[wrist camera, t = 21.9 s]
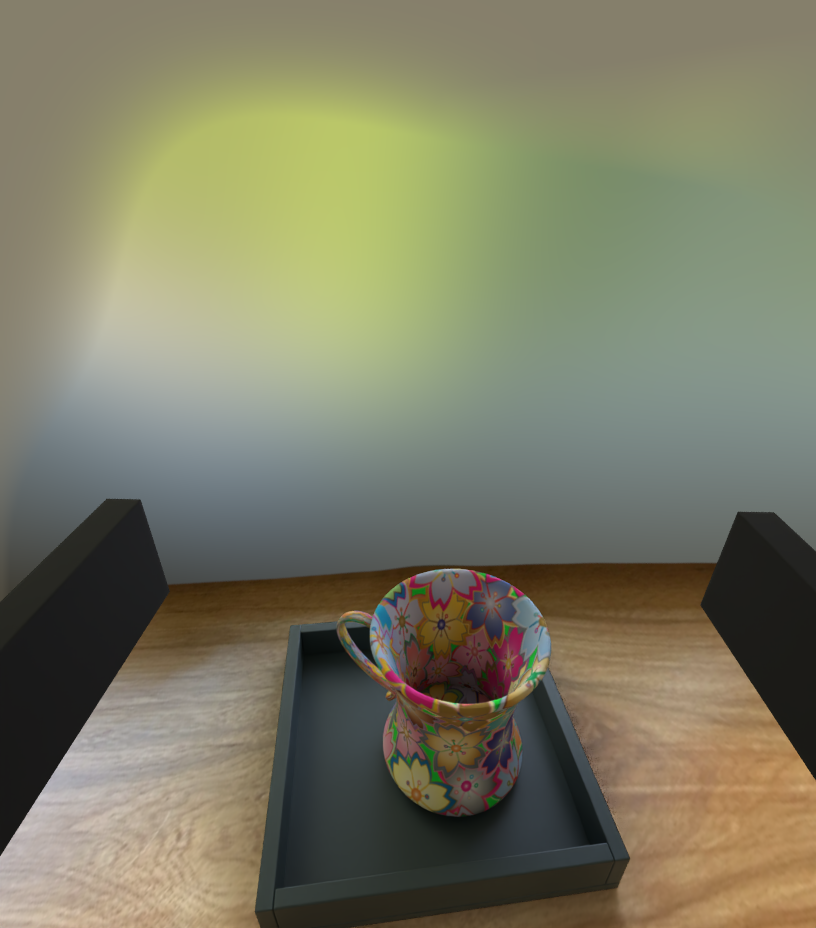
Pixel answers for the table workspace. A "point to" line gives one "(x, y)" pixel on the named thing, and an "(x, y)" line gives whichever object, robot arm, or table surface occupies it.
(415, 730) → the mug
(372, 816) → the tray
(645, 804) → the table surface
